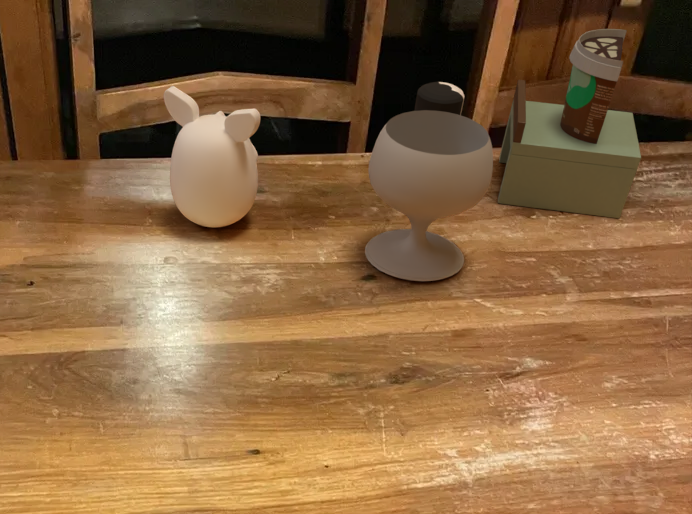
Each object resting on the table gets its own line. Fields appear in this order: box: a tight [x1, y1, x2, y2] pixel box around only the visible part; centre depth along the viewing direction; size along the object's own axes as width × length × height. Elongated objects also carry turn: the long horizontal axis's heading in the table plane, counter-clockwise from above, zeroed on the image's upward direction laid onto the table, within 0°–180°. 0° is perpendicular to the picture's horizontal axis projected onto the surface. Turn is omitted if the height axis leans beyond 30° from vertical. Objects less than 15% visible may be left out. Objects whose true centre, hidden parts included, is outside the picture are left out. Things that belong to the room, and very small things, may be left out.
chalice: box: [364, 110, 494, 282], centre depth 109 cm, size 14×14×15 cm
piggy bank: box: [163, 85, 261, 228], centre depth 114 cm, size 12×12×15 cm
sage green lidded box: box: [497, 79, 642, 219], centre depth 124 cm, size 16×14×10 cm
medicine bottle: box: [413, 81, 465, 116], centre depth 124 cm, size 7×7×12 cm
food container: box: [560, 28, 628, 144], centre depth 119 cm, size 12×6×10 cm, turn 163°
